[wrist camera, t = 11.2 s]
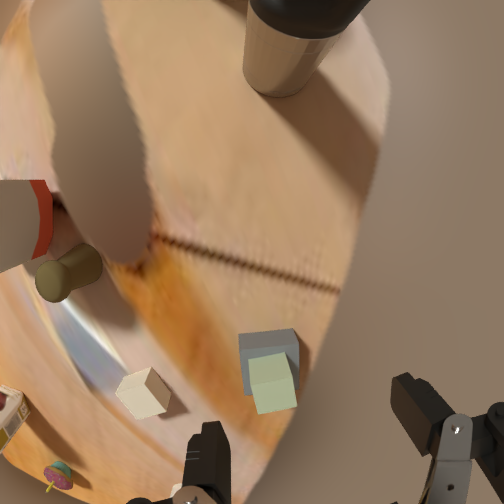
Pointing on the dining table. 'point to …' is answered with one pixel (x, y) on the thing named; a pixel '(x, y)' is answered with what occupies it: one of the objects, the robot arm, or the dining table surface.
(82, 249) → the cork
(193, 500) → the robot arm
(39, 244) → the french fries container
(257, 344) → the slate block
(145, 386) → the cream block
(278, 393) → the sage block
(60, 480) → the cupcake
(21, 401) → the juice carton
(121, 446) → the dining table surface
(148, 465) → the dining table surface
